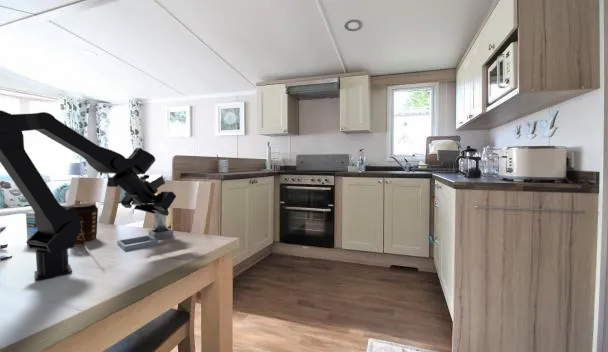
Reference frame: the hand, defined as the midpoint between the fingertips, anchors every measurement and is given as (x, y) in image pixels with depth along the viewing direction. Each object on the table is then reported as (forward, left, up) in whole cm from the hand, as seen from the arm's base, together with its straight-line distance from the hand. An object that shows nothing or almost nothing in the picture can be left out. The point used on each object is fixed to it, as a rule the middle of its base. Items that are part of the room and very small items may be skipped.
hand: (163, 214), depth 98 cm
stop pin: (-1, +1, -7) cm, 7 cm away
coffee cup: (+13, +21, -9) cm, 26 cm away
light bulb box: (+23, +29, -9) cm, 38 cm away
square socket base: (0, 0, -9) cm, 9 cm away
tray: (-6, +10, -9) cm, 14 cm away
